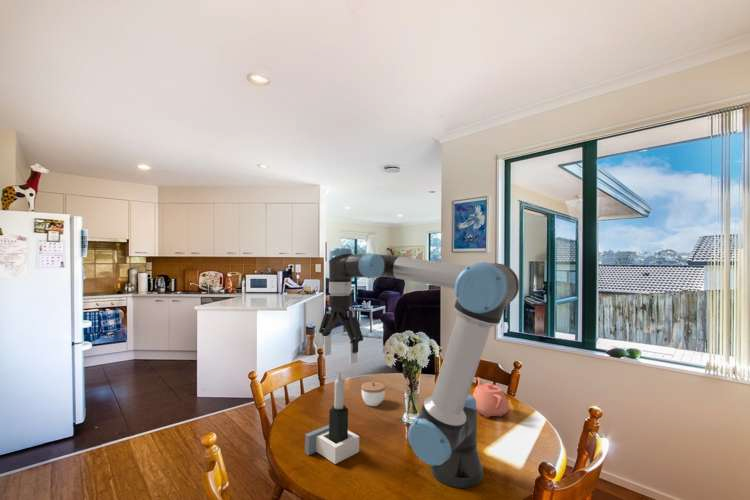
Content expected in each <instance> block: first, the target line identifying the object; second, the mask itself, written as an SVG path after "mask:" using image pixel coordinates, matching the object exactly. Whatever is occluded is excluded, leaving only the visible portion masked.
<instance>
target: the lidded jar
mask: <svg viewBox="0 0 750 500" xmlns="http://www.w3.org/2000/svg"><path fill="white" fill-rule="evenodd" d="M360 389H361V390H360V391H361V392H360V393H361V397H362V400H363V402H364V403H365V404H366V405H367V406H369V407H377V406H379V405H381V404H382V402H383V401H384V398H385V393H386V384H384V383H382V382H379V381H367V382H364V383H362V384H361V386H360Z"/></svg>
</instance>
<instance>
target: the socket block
mask: <svg viewBox="0 0 750 500" xmlns="http://www.w3.org/2000/svg"><path fill="white" fill-rule="evenodd" d="M316 451H317V452H316V453H318V454H319V455H321V456H322V457H324V458H325V459H327V460H328V461H330V462H331V463H333V464H334V465H336V464H338V463H340V462H342V461H344V460H346V459H348V458H350V457H352V456H354V455H356V454H357V453H360V436H359V435H357V433H354V432H352V431H351V430H349V429H348V439H346V440H344V441H342V442H339V443H337V444H335V443H334V442H332V441H330V440H329V431H327V432H324V433H322V434H319V435H317V436H316Z"/></svg>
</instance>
